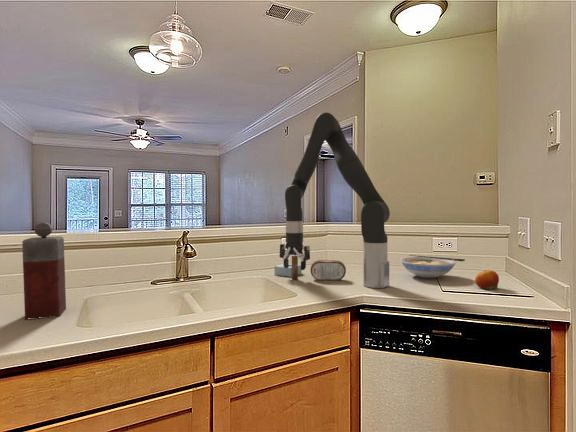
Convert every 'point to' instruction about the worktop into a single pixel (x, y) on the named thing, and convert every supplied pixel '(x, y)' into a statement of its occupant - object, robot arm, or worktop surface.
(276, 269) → the light blue square box
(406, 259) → the ramen bowl
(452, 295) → the worktop surface
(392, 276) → the worktop surface
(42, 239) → the decanter
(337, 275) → the tin
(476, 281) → the fruit
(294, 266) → the dowel
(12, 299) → the worktop surface
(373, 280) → the robot arm
